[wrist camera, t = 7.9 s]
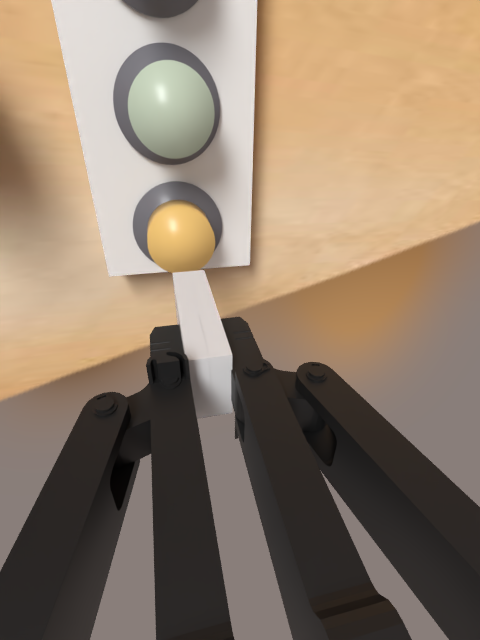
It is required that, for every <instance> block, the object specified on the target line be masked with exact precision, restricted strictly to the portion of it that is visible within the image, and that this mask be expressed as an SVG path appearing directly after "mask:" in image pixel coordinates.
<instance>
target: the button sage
mask: <svg viewBox="0 0 480 640" xmlns="http://www.w3.org/2000/svg"><path fill="white" fill-rule="evenodd" d="M128 113H129V119H130V122H131V125H132V127H133V130H134V132H135V133H136V135H137V137H138V138H139V139H140V141H141V142H142V143H143V144H144V145H145V146H146V147H147V148H148V149H149V150H151V151H152V152H154V153H155V154H158V155H160V156H162V157H166V158H171V159H178V158H184V157H188V156H190V155H192V154H194V153H196V152H197V151H198V150H200V149H201V148H202V147H203V146H204V144H205V143H206V142H207V140H208V138H209V136H210V134H211V132H212V128H213V125H214V115H215V112H214V103H213V99H212V96H211V93H210V90H209V88H208V86H207V85H206V83H205V81H204V80H203V79H202V77H201V76H200V75H199V74H198V73H197V72H196V71H195V70H193V69H192V68H191V67H189V66H188V65H186V64H184V63H181V62H178V61H174V60H161V61H156V62H154V63H151V64H149V65H148V66H146V67H145V68H144V69H142V70H141V71H140V72H139V74H138V75H137V76H136V78H135V79H134V81H133V83H132V85H131V88H130V91H129V96H128Z"/></svg>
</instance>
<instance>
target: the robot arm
mask: <svg viewBox="0 0 480 640" xmlns="http://www.w3.org/2000/svg"><path fill="white" fill-rule="evenodd" d="M172 274H173V284H174V294H175V304H176V314H177V323H178V325H170V326H162V327H155V328H154V330H153V331H152V333H151V334H150V351H151V352H150V356H151V357H150V358H149V359H148V360H147V364H146V367H147V373H148V379H149V384H148V385H147V386H146V387H145V388H144V389H143V390H141V391H140V392H138V393H136V394H134V395H131V396H129V397H125V396H124V395H122V394H120V393H116V392H108V393H102V394H100V395H97V396H95V397H93V398H92V399H91V400H89V401H88V402H87V403H86V405H85V406H84V408H83V409H82V411H81V414H80V415H79V417H78V419H77V421H76V423H75V425H74V427H73V429H72V431H71V433H70V435H69V437H68V439H67V441H66V443H65V445H64V447H63V449H62V451H61V453H60V455H59V457H58V459H57V461H56V463H55V465H54V467H53V469H52V471H51V473H50V475H49V477H48V479H47V481H46V482H45V484H44V486H43V488H42V490H41V492H40V495H39V497H38V498H37V500H36V502H35V504H34V506H33V508H32V510H31V512H30V514H29V516H28V518H27V520H26V522H25V524H24V526H23V528H22V530H21V532H20V534H19V536H18V538H17V540H16V542H15V544H14V546H13V548H12V550H11V552H10V554H9V556H8V558H7V559H6V562H5V563H4V565H3V567H2V569H1V571H0V640H90V637H91V633H92V630H93V626H94V623H95V619H96V616H97V612H98V608H99V605H100V601H101V598H102V594H103V591H104V587H105V584H106V580H107V577H108V573H109V570H110V566H111V562H112V559H113V555H114V552H115V548H116V545H117V541H118V538H119V534H120V531H121V527H122V523H123V520H124V516H125V513H126V509H127V506H128V502H129V499H130V495H131V492H132V488H133V485H134V481H135V478H136V474H137V470H138V467H139V463H140V459H141V458H143V457H145V456H147V455H149V454H151V457H152V458H151V460H152V496H153V497H152V498H153V535H154V572H155V610H156V611H155V612H156V640H234V637H233V632H232V627H231V621H230V615H229V609H228V603H227V597H226V591H225V585H224V579H223V574H222V567H221V561H220V555H219V549H218V543H217V537H216V531H215V526H214V519H213V513H212V507H211V501H210V495H209V489H208V483H207V477H206V471H205V465H204V459H203V453H202V446H201V440H200V435H199V428H198V423H197V419H199V418H205V417H211V416H217V415H223V414H229V413H232V404H233V408H234V411H235V439H237V438H238V437H239V441H240V444H241V448H242V452H243V455H244V459H245V463H246V467H247V470H248V474H249V477H250V481H251V485H252V489H253V492H254V496H255V500H256V504H257V507H258V511H259V515H260V519H261V522H262V526H263V530H264V533H265V537H266V541H267V544H268V548H269V552H270V556H271V559H272V563H273V567H274V571H275V574H276V578H277V581H278V585H279V589H280V593H281V596H282V600H283V604H284V608H285V611H286V615H287V619H288V623H289V626H290V630H291V634H292V638H293V640H412V639H411V637H410V635H409V633H408V631H407V629H406V627H405V625H404V623H403V621H402V619H401V618H400V616H399V614H398V612H397V610H396V609H395V607H394V606H393V605H392V604H391V602H390V601H389V600H388V599H386V598H385V597H383V596H381V595H380V594H379V593H378V592H377V591H376V589H375V588H374V586H373V584H372V582H371V580H370V578H369V576H368V574H367V572H366V569H365V567H364V565H363V563H362V560H361V558H360V556H359V554H358V552H357V550H356V547H355V545H354V543H353V541H352V539H351V537H350V534H349V532H348V530H347V528H346V526H345V523H344V521H343V519H342V517H341V515H340V512H339V510H338V508H337V506H336V504H335V502H334V499H333V497H332V495H331V493H330V491H329V489H328V486H327V484H326V482H325V480H324V478H323V475H322V473H323V474H324V475H325V477H326V478H327V479H328V481H329V482H330V483H331V485H332V486H333V487H334V489H335V490H336V491H337V493H338V494H339V495H340V497H341V498H342V499H343V501H344V502H345V503H346V504H347V506H348V507H349V508H350V510H351V511H352V512H353V514H354V515H355V516H356V518H357V519H358V520H359V522H360V523H361V524H362V525H363V527H364V528H365V529H366V531H367V532H368V533H369V535H370V536H371V537H372V539H373V540H374V541H375V543H376V544H377V545H378V547H379V548H380V549H381V551H382V552H383V553H384V554H385V556H386V557H387V558H388V559H389V561H390V562H391V564H392V565H393V566H394V568H395V569H396V570H397V572H398V573H399V574H400V575H401V577H402V578H403V579H404V581H405V582H406V583H407V585H408V586H409V587H410V589H411V590H412V591H413V593H414V594H415V595H416V597H417V598H418V599H419V601H420V602H421V603H422V604H423V606H424V607H425V609H426V610H427V611H428V612H429V614H430V615H431V616H432V618H433V619H434V620H435V622H436V623H437V624H438V626H439V627H440V628H441V630H442V631H443V632H444V634H445V635H446V636H447V637H448V638H449V640H480V507H479V506H478V505H477V504H476V503H475V502H473V500H471V499H470V498H469V497H468V496H467V495H466V494H465V493H464V492H463V491H462V490H461V489H460V488H459V487H457V486H456V485H455V484H454V483H453V482H452V481H451V480H450V479H449V478H448V477H447V476H446V475H445V474H444V473H442V472H441V471H440V470H439V469H438V468H437V467H436V466H435V465H434V464H433V463H432V462H431V461H430V460H429V459H428V458H426V457H425V456H424V455H423V454H422V453H421V452H420V451H419V450H418V449H417V448H416V447H415V446H414V445H413V444H412V443H410V442H409V441H408V440H407V439H406V438H405V437H404V436H403V435H402V434H401V433H400V432H399V431H398V430H397V429H395V428H394V427H393V426H392V425H391V424H390V423H389V422H388V421H387V420H386V419H385V418H384V417H383V416H382V415H380V414H379V413H378V412H377V411H376V410H375V409H374V408H373V407H372V406H371V405H370V404H369V403H368V402H367V401H366V400H364V399H363V398H362V397H361V396H360V395H359V394H358V393H357V392H356V391H355V390H354V389H353V388H352V387H350V385H348V384H347V383H346V382H345V381H344V380H343V379H342V378H341V377H340V376H339V375H338V374H337V373H336V372H334V371H333V370H332V369H331V368H330V367H328V366H327V365H324V364H321V363H317V362H308V363H304V364H302V365H301V366H299V368H298V369H297V372H288V371H280V370H277V369H274V368H273V366H272V365H271V364H270V363H269V362H268V361H266V360H264V359H263V357H262V355H261V353H260V350H259V348H258V346H257V344H256V341H255V339H254V338H253V334H252V332H251V330H250V328H249V326H248V323H247V322H246V321H244V320H243V319H242V318H240V317H235V318H225V319H220V316H219V313H218V310H217V307H216V304H215V301H214V298H213V295H212V292H211V289H210V286H209V283H208V280H207V277H206V274H205V271H204V270H198V271H187V272H175V273H172ZM320 470H321V471H322V473H321V471H320Z"/></svg>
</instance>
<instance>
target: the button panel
mask: <svg viewBox="0 0 480 640" xmlns="http://www.w3.org/2000/svg"><path fill="white" fill-rule="evenodd" d="M51 1H52V6H53V11H54V16H55V20H56V25H57V30H58V35H59V40H60V44H61V49H62V54H63V59H64V64H65V68H66V73H67V78H68V83H69V87H70V92H71V97H72V102H73V107H74V111H75V116H76V121H77V126H78V130H79V135H80V140H81V145H82V150H83V154H84V159H85V164H86V169H87V174H88V178H89V183H90V188H91V193H92V197H93V202H94V207H95V212H96V217H97V221H98V226H99V231H100V236H101V240H102V245H103V250H104V255H105V260H106V264H107V269H108V274H109V276H122V275H134V274H146V273H158V272H168V271H166V270H164V269H162V268H161V267H159V266H158V265H157V264H156V263H155V262H154V260H153V259H152V257H151V255H150V253H149V250H148V244H147V227H148V221H149V218H150V216H151V214H152V213H153V211H154V210H155V209H156V208H157V207H158V206H160V205H161V204H163V203H165V202H167V201H170V200H186V201H189V202H191V203H193V204H195V205H197V206H198V207H199V208H200V209H201V210H202V211H203V212H204V213H205V215H206V217H207V219H208V221H209V223H210V225H211V227H212V230H213V232H214V236H215V249H214V252H213V255H212V257H211V259H210V260H209V261H208V263H207V264H206V265H205V266H204V267H202V268H201V269H208V268H220V267H232V266H245V265H250V243H251V207H252V171H253V135H254V99H255V63H256V27H257V0H51ZM161 60H174V61H178V62H181V63H184V64H186V65H188V66H189V67H191V68H192V69H193V70H195V71H196V72H197V73H198V74H199V75H200V76H201V77H202V79H203V80H204V81H205V83H206V85H207V86H208V88H209V90H210V93H211V96H212V99H213V103H214V112H215V115H214V125H213V128H212V132H211V134H210V136H209V138H208V140H207V142H206V143H205V144H204V146H203V147H202V148H201V149H200V150H198V151H197V152H196V153H194V154H192V155H190V156H188V157H184V158H178V159H171V158H166V157H162V156H160V155H158V154H155V153H154V152H152V151H151V150H149V149H148V148H147V147H146V146H145V145H144V144H143V143H142V142H141V141H140V139H139V138H138V137H137V135H136V133H135V132H134V130H133V127H132V125H131V122H130V119H129V113H128V96H129V91H130V88H131V85H132V83H133V81H134V79H135V78H136V76H137V75H138V74H139V72H140V71H141V70H142V69H144V68H145V67H146V66H148V65H149V64H151V63H154V62H156V61H161Z"/></svg>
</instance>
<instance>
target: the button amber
mask: <svg viewBox="0 0 480 640" xmlns="http://www.w3.org/2000/svg"><path fill="white" fill-rule="evenodd" d="M147 244H148V250H149V253H150V255H151V257H152V259H153V260H154V262H155V263H156V264H157V265H158V266H159V267H161V268H162V269H164V270H166V271H168V272H170V273H175V272H187V271H197V270H199V269H201V268H202V267H204V266H205V265H206V264H207V263H208V261H209V260H210V259H211V257H212V255H213V252H214V249H215V236H214V232H213V230H212V227H211V225H210V223H209V221H208V219H207V217H206V215H205V213H204V212H203V211H202V210H201V209H200V208H199V207H198V206H197V205H195V204H193V203H191V202H189V201H186V200H170V201H167V202H165V203H163V204H161V205H160V206H158V207H157V208H156V209H155V210H154V211H153V213H152V214H151V216H150V218H149V221H148V227H147Z"/></svg>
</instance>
